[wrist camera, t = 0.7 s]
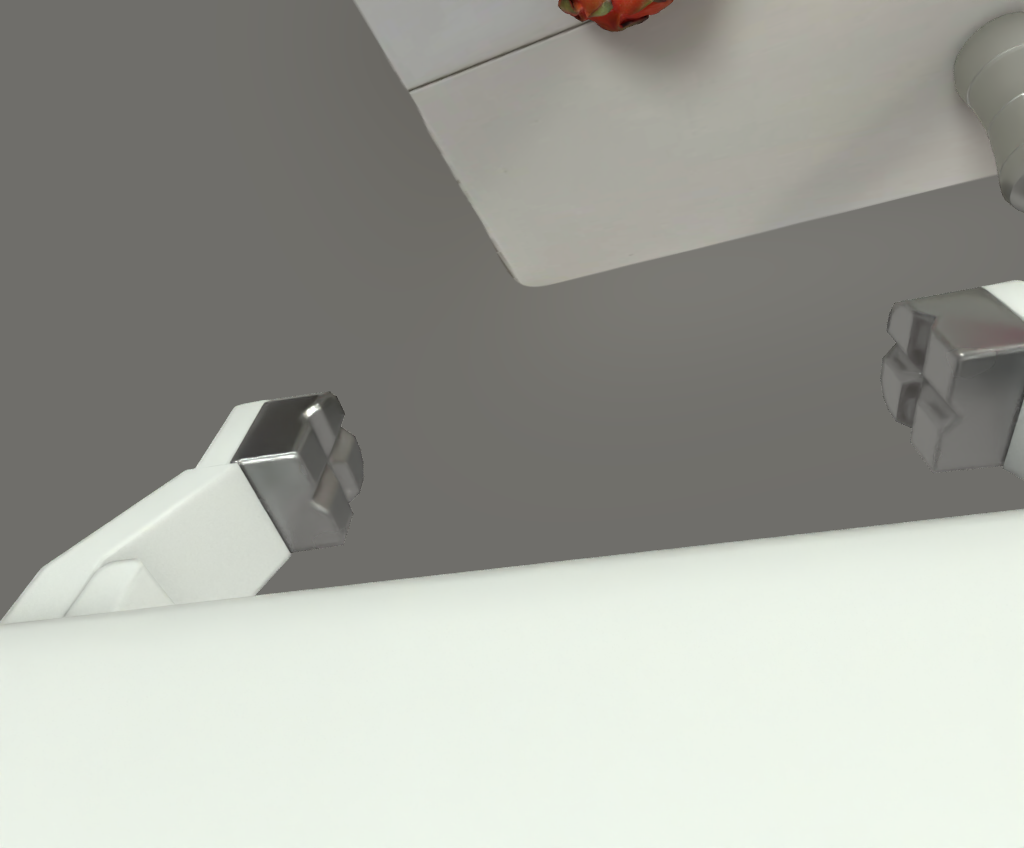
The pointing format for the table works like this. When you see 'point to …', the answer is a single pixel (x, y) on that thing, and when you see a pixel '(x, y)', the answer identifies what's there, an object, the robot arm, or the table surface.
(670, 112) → the table surface
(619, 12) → the dragon fruit
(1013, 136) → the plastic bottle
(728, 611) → the robot arm
